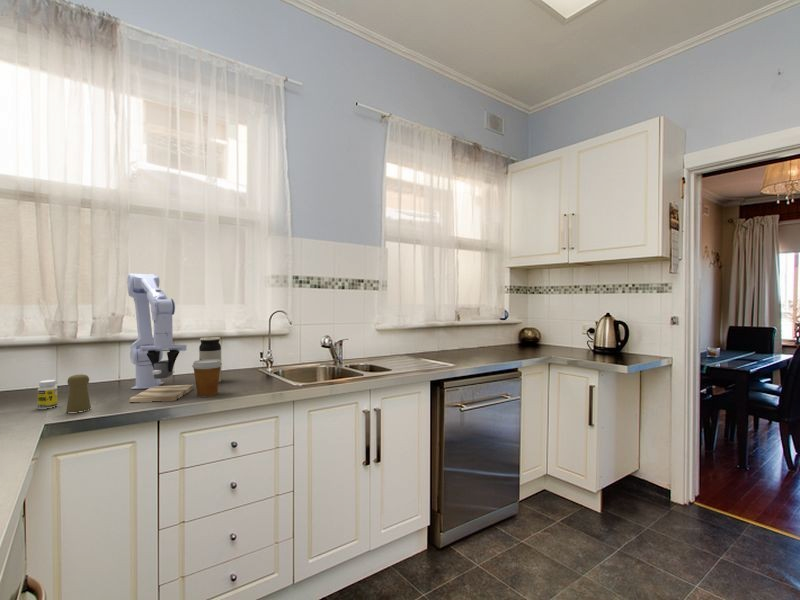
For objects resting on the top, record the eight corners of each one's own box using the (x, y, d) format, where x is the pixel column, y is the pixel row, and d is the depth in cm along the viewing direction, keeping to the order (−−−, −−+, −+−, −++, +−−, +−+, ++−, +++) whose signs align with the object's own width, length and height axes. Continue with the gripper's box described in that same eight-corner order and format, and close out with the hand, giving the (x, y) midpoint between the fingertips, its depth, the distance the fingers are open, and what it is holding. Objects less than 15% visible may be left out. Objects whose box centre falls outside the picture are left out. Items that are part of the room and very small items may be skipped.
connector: (162, 374, 146) (162, 360, 146) (174, 373, 146) (174, 359, 146) (148, 380, 134) (148, 365, 134) (161, 380, 135) (161, 365, 135)
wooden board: (153, 390, 149) (153, 386, 149) (193, 388, 152) (193, 384, 152) (129, 402, 132) (129, 398, 132) (175, 400, 134) (175, 396, 134)
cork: (88, 406, 127) (87, 372, 127) (93, 410, 123) (93, 374, 123) (63, 411, 122) (63, 375, 122) (68, 414, 119) (68, 377, 118)
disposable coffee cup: (218, 397, 139) (218, 362, 139) (188, 398, 137) (188, 363, 137) (224, 391, 148) (224, 358, 148) (196, 392, 146) (196, 359, 146)
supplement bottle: (34, 410, 124) (34, 383, 123) (41, 406, 128) (40, 380, 128) (54, 408, 125) (54, 381, 125) (60, 404, 130) (59, 378, 130)
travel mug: (222, 379, 168) (221, 336, 168) (220, 383, 161) (219, 338, 160) (201, 381, 166) (200, 337, 166) (198, 385, 158) (197, 339, 158)
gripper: (135, 334, 136) (135, 374, 136) (181, 333, 139) (181, 372, 139) (144, 332, 143) (145, 370, 143) (188, 332, 146) (188, 369, 146)
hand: (163, 371), depth 142 cm, fingers closed on connector, 4 cm apart
